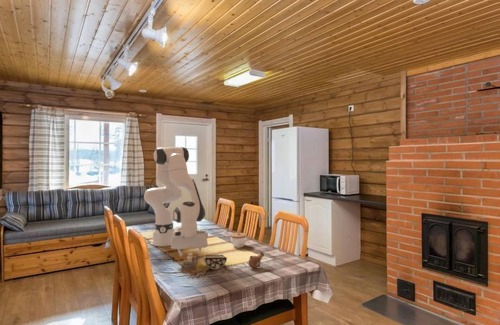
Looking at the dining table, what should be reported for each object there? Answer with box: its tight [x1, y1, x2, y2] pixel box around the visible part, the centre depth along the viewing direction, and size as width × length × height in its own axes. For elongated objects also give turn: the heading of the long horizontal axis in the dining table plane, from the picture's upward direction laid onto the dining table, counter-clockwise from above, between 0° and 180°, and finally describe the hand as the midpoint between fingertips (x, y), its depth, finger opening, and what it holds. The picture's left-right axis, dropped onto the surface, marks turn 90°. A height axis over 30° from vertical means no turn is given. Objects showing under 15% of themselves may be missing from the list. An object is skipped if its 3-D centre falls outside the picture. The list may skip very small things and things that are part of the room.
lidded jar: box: [230, 231, 248, 249], centre depth 205 cm, size 11×11×9 cm
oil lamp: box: [248, 251, 265, 269], centre depth 165 cm, size 9×4×8 cm, turn 112°
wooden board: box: [180, 255, 198, 272], centre depth 171 cm, size 20×7×1 cm, turn 7°
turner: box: [184, 252, 194, 268], centre depth 171 cm, size 16×4×3 cm, turn 7°
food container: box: [203, 254, 228, 270], centre depth 166 cm, size 12×6×10 cm
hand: (189, 255), depth 173 cm, fingers open, 8 cm apart
